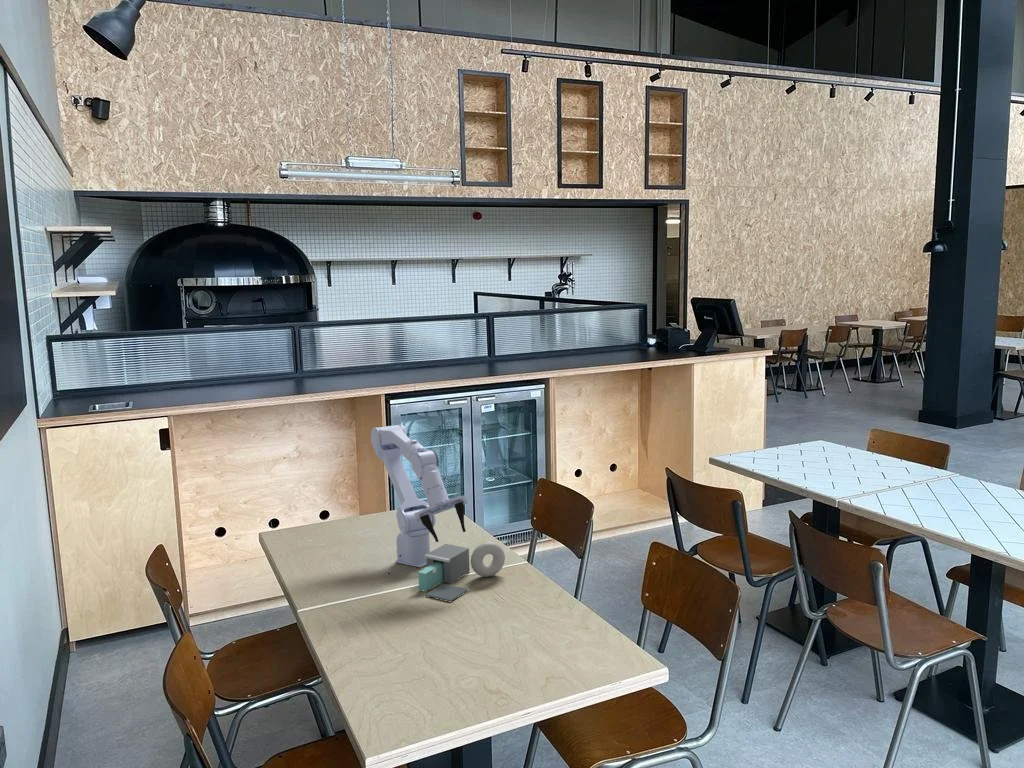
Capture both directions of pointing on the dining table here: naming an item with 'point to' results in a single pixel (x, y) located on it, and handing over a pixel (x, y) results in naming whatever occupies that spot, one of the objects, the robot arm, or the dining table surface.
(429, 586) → the tall teal prism
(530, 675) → the dining table surface
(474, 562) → the donut
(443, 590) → the coaster
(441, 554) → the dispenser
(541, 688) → the dining table surface
